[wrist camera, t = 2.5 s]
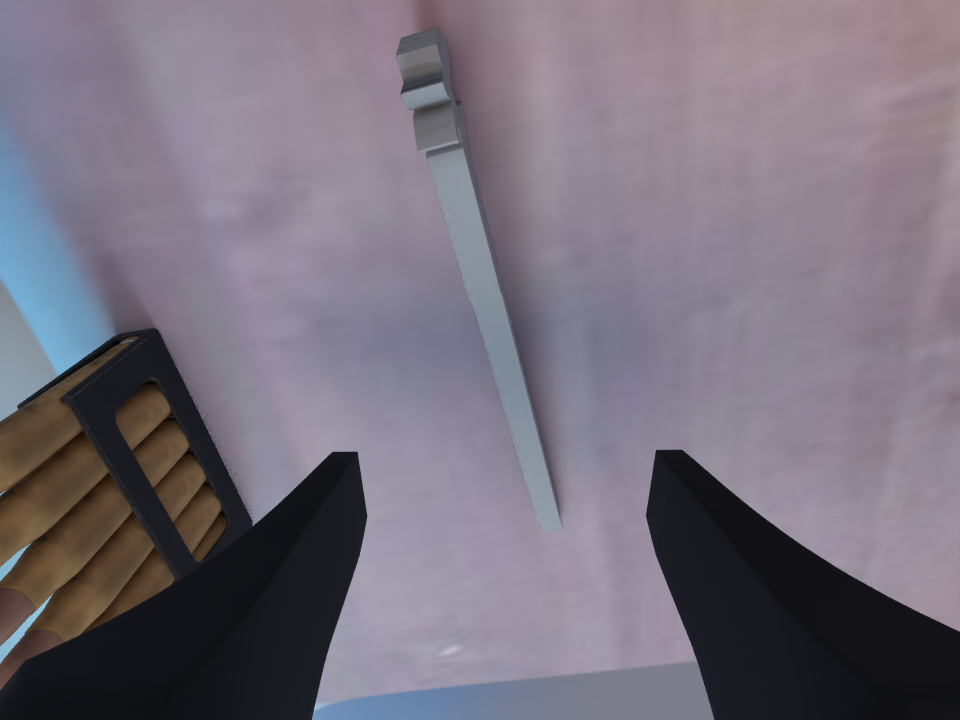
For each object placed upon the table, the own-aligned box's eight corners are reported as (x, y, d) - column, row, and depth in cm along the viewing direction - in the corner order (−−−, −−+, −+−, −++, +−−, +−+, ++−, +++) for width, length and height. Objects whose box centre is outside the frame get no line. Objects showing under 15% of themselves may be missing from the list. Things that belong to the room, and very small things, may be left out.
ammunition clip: (254, 526, 26) (82, 833, 15) (218, 531, 26) (23, 838, 15) (156, 327, 21) (-196, 564, 10) (114, 335, 21) (-275, 574, 10)
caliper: (414, 49, 17) (374, 22, 11) (447, 39, 16) (424, 7, 11) (541, 525, 25) (555, 646, 20) (564, 521, 25) (584, 642, 19)
